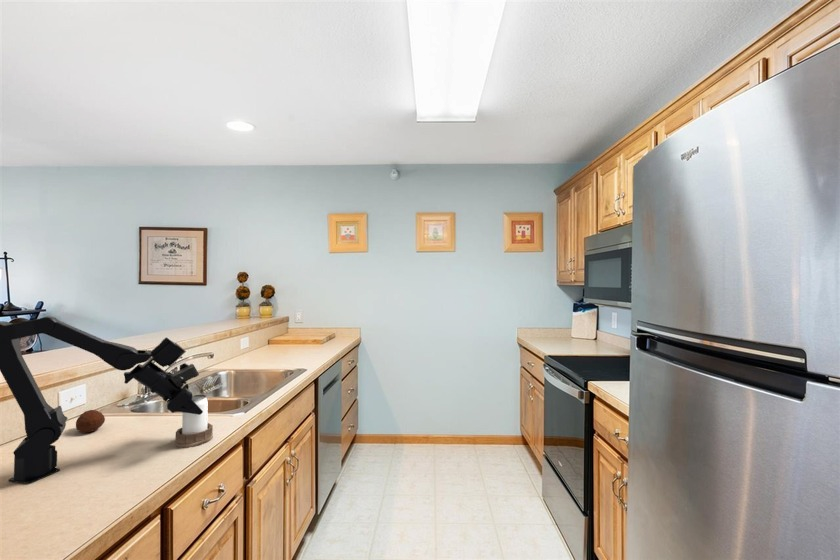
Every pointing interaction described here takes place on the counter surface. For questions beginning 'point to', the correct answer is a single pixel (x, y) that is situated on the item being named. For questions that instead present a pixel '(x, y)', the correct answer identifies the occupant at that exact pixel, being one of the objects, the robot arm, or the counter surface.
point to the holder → (193, 437)
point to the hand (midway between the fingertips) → (200, 409)
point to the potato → (90, 421)
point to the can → (196, 417)
